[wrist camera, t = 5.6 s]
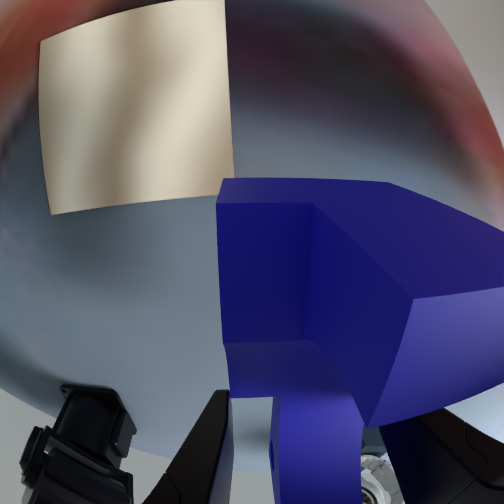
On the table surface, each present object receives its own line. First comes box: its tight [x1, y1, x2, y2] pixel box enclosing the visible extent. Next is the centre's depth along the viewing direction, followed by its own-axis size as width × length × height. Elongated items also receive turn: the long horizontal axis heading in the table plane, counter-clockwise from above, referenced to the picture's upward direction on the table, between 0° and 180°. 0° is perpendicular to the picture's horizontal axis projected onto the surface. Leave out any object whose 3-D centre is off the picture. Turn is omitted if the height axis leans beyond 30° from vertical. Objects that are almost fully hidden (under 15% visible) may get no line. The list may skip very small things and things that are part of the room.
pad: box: [39, 0, 234, 215], centre depth 14 cm, size 12×12×1 cm
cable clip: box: [216, 178, 504, 504], centre depth 7 cm, size 12×4×6 cm, turn 0°
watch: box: [361, 424, 405, 504], centre depth 22 cm, size 6×8×11 cm
